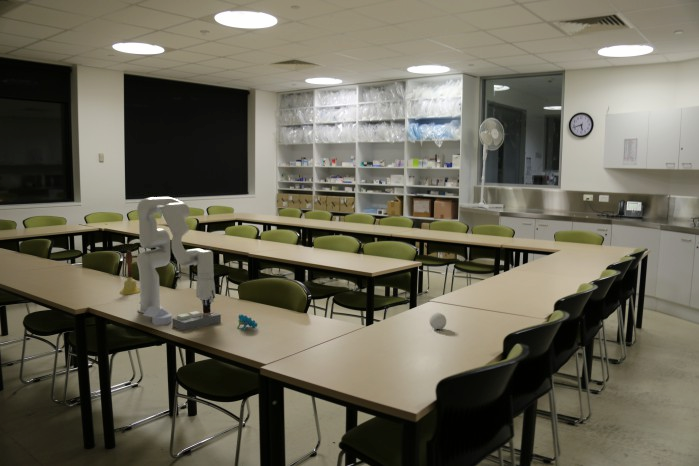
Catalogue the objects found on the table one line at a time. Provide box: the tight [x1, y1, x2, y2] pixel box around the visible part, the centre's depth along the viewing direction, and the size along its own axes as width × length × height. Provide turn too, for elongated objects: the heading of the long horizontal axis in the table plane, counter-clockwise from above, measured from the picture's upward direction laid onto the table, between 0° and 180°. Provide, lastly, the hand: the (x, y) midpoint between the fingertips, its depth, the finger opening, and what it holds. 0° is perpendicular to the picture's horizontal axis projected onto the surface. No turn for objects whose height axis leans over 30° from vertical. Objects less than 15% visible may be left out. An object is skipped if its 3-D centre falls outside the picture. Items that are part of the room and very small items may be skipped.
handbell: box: [119, 250, 140, 295], centre depth 324 cm, size 12×12×25 cm
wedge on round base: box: [142, 307, 173, 326], centre depth 266 cm, size 9×7×13 cm
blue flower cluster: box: [236, 314, 258, 331], centre depth 255 cm, size 11×6×10 cm
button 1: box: [176, 313, 190, 320], centre depth 258 cm, size 4×4×3 cm
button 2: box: [188, 310, 202, 318], centre depth 262 cm, size 4×4×3 cm
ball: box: [429, 312, 447, 330], centre depth 258 cm, size 8×8×8 cm
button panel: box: [172, 311, 222, 332], centre depth 261 cm, size 10×20×4 cm, turn 138°
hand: (206, 312), depth 266 cm, fingers closed
